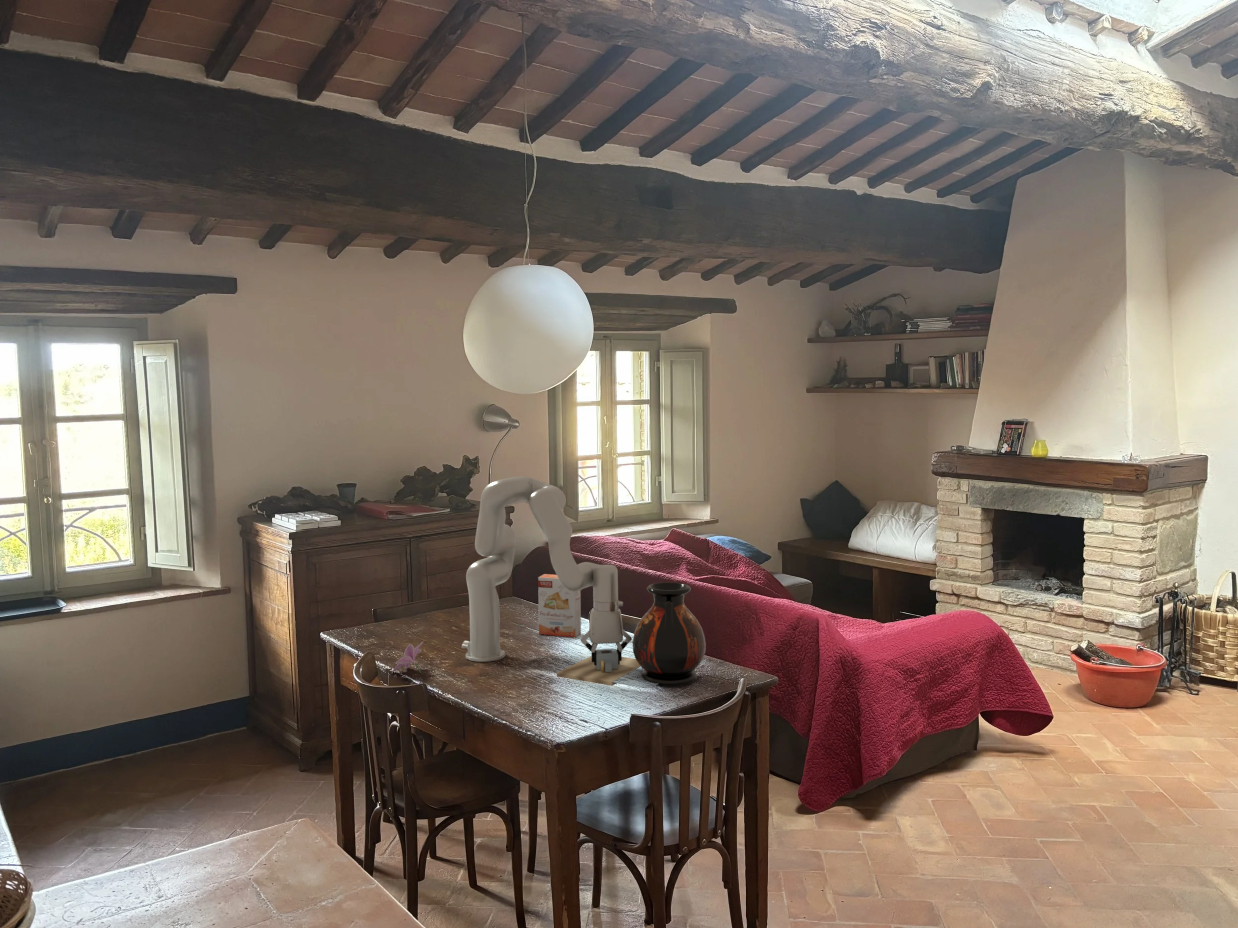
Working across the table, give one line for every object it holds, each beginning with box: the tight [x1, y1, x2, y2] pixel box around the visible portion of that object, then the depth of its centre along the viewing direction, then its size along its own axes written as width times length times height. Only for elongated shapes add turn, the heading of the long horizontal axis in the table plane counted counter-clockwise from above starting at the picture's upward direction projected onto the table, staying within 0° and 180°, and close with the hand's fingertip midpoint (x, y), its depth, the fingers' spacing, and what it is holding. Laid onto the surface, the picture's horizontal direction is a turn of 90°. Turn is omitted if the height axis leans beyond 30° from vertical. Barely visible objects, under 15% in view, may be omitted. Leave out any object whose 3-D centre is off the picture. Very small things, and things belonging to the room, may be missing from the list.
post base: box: [556, 650, 641, 687], centre depth 284 cm, size 19×24×6 cm
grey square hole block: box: [596, 648, 618, 672], centre depth 282 cm, size 9×6×4 cm
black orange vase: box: [632, 582, 707, 688], centre depth 273 cm, size 22×22×28 cm
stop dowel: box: [601, 660, 605, 673], centre depth 278 cm, size 1×1×4 cm
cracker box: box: [537, 573, 582, 638], centre depth 326 cm, size 14×6×21 cm, turn 72°
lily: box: [391, 641, 424, 674], centre depth 283 cm, size 12×12×10 cm
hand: (606, 663), depth 283 cm, fingers closed on grey square hole block, 6 cm apart
